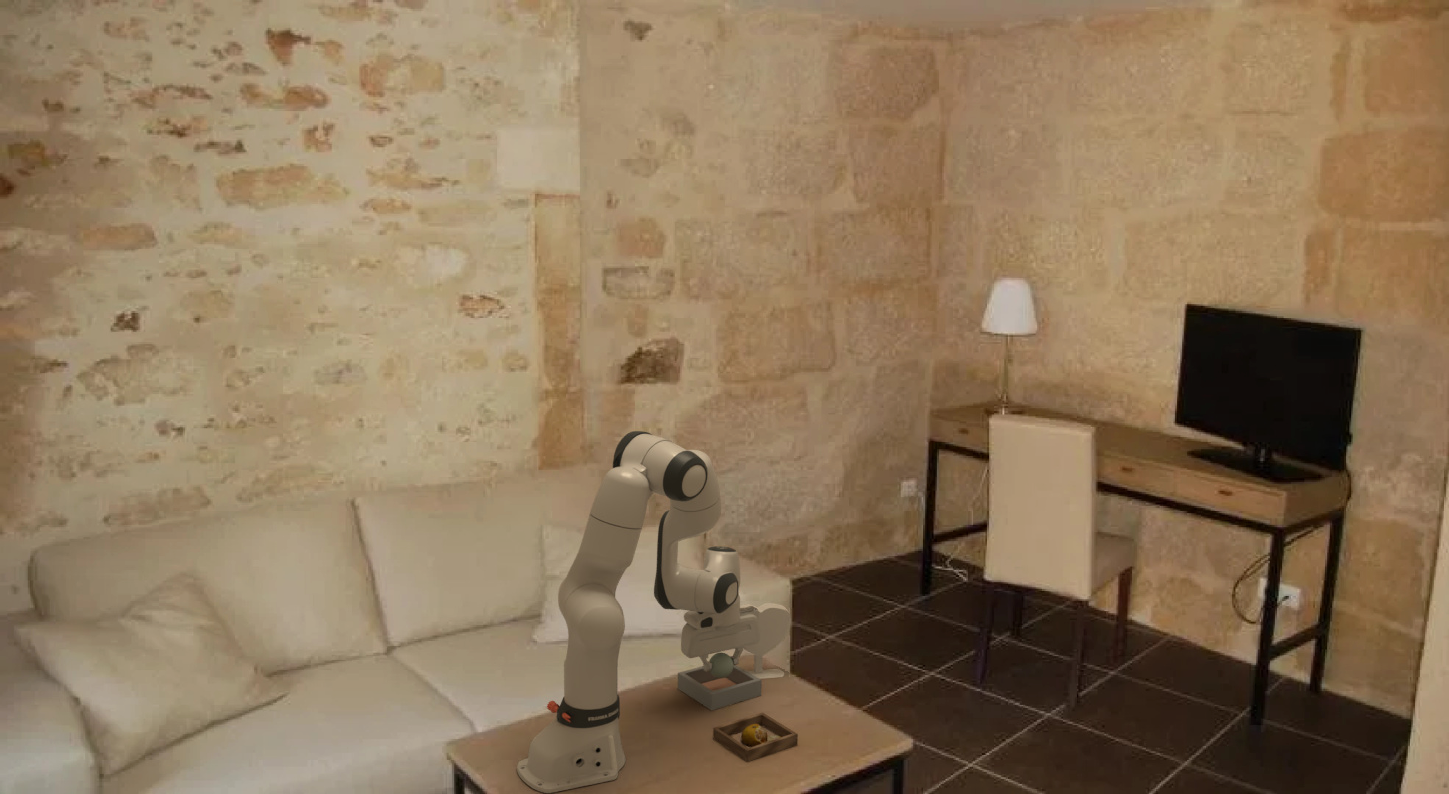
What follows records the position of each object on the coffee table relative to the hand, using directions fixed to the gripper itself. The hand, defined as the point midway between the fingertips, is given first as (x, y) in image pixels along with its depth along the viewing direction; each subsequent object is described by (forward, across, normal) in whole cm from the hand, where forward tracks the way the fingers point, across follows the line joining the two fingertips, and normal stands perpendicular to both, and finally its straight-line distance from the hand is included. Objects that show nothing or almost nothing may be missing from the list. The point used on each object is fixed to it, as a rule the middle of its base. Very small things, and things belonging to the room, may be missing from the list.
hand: (721, 667), depth 269 cm
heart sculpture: (+7, -13, -4) cm, 16 cm away
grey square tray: (+6, 0, 0) cm, 6 cm away
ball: (0, 0, 0) cm, 0 cm away
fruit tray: (+6, +6, +25) cm, 27 cm away
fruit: (+7, +5, +27) cm, 28 cm away
